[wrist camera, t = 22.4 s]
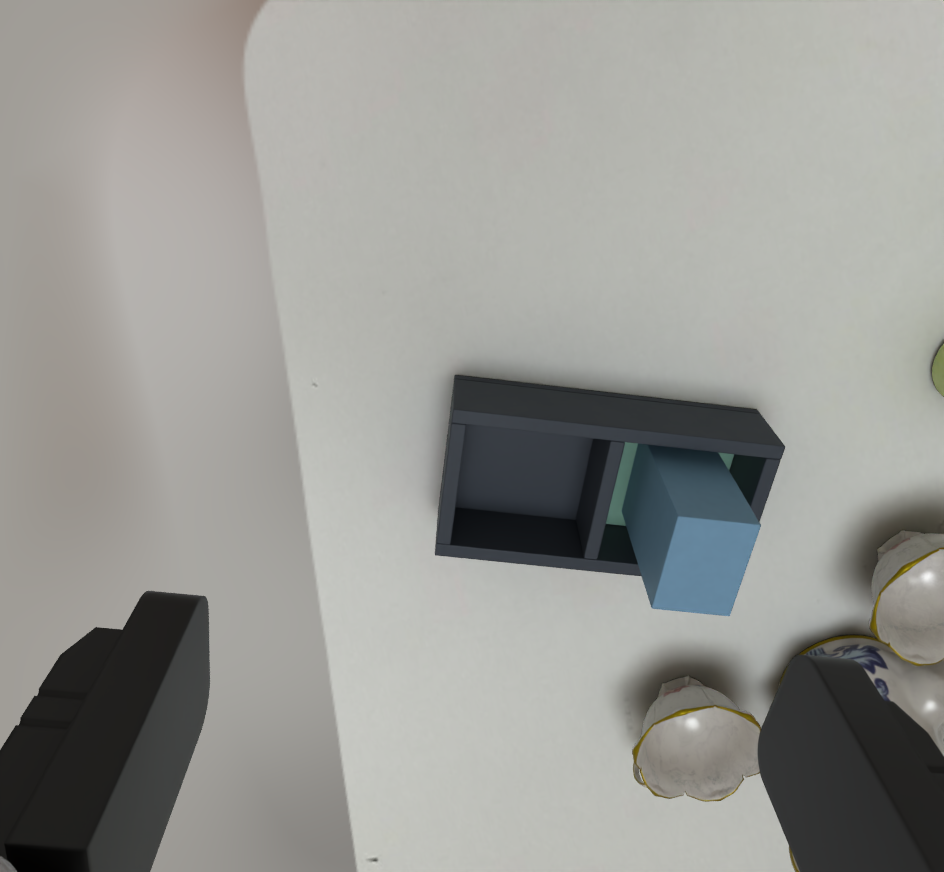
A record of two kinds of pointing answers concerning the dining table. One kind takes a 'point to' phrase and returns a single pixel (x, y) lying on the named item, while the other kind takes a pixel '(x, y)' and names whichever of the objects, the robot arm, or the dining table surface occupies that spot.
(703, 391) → the dining table surface
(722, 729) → the chinaware
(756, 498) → the tray
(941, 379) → the tube
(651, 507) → the steel-blue rectangular block
